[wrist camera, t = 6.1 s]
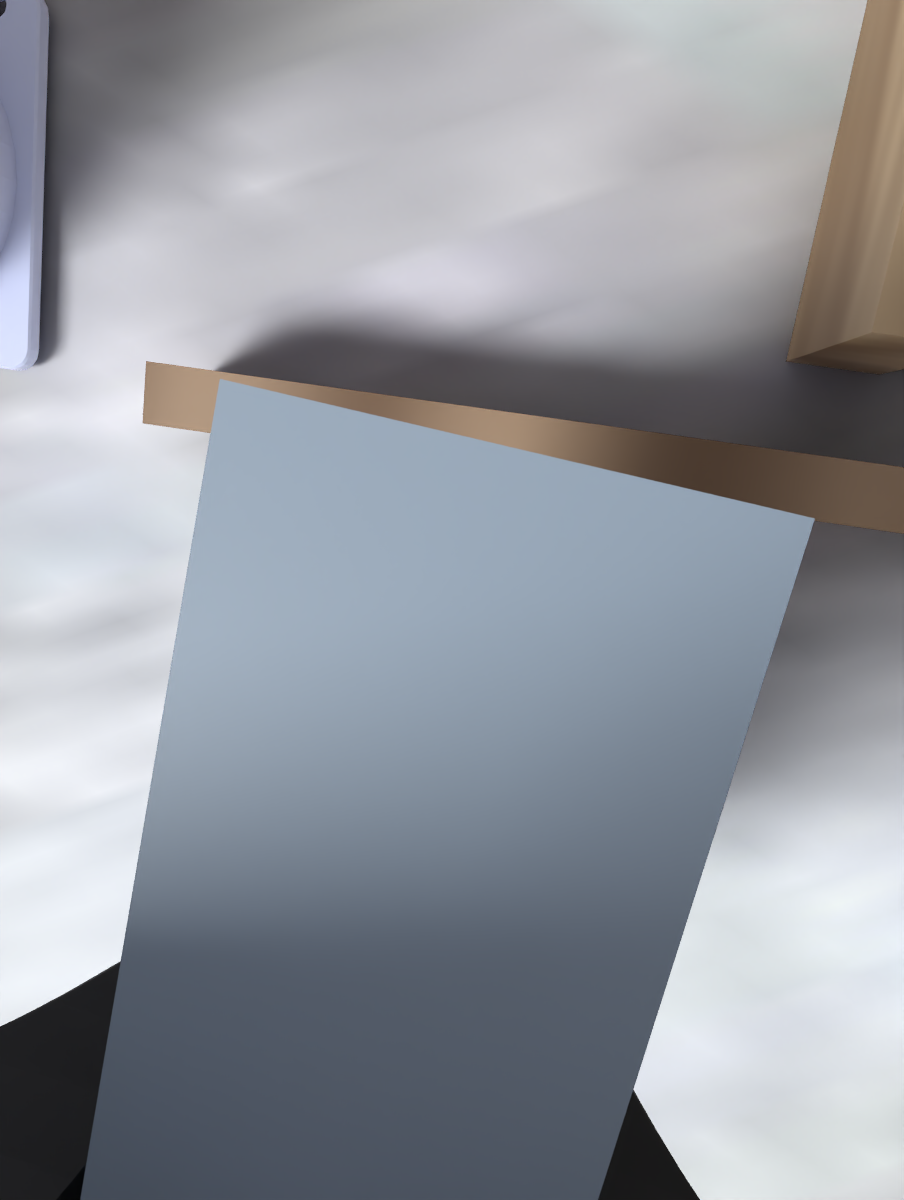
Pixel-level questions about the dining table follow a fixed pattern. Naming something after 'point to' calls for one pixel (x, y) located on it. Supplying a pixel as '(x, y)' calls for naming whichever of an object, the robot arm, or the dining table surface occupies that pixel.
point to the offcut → (861, 217)
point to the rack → (586, 447)
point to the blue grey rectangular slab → (423, 811)
